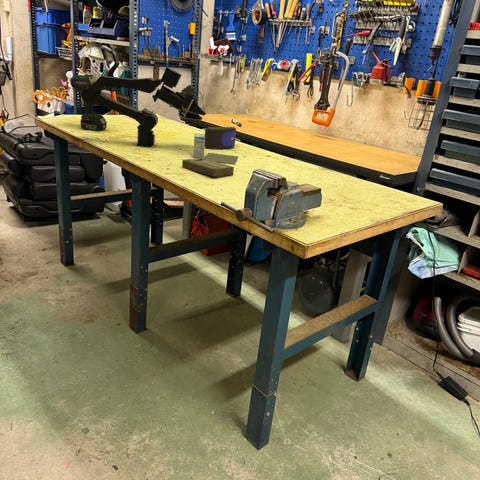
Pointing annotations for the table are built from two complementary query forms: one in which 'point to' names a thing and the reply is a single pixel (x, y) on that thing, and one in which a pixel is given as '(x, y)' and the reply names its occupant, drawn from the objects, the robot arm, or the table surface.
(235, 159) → the mat
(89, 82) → the power drill
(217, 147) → the leaning round-cornered charcoal block
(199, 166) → the box
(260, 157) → the table surface
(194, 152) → the medicine box
